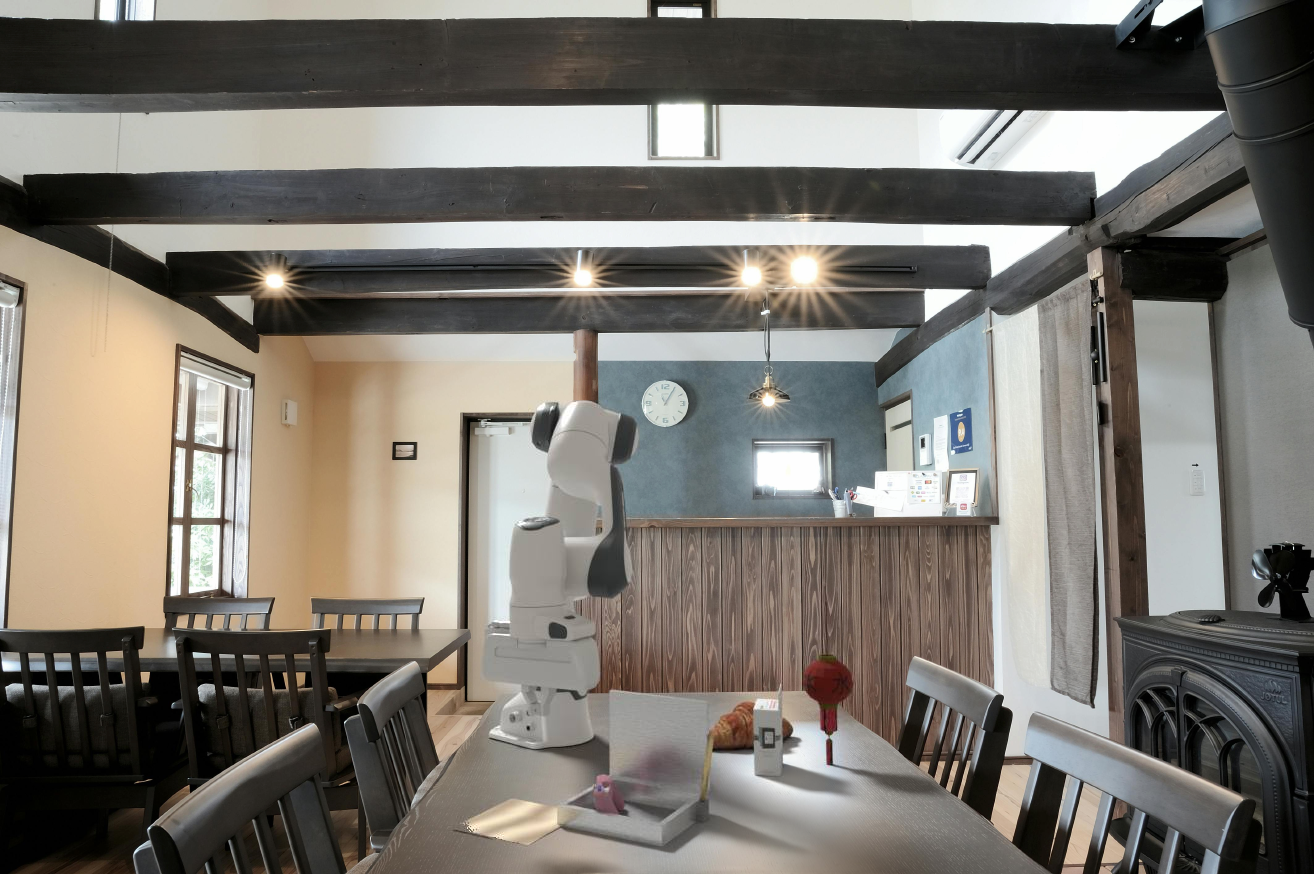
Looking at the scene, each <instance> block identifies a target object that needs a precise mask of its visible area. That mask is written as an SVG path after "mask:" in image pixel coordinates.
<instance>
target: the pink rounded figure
mask: <svg viewBox="0 0 1314 874" xmlns="http://www.w3.org/2000/svg"><path fill="white" fill-rule="evenodd" d="M595 784H596V785H595ZM595 784H593V785H592V786H593V791H594V804H595V808H594V809H595V810H597V811H602V812H607V813H612V814H617V815H621V813H620V812H619V811H623V810H625V801H624V799H623V797H622V796H621V794H620V793H619V791H618V790H617V788H616V786H615V783H614V781H613V779H612V778H611V775H610V774H609V775H607V774H605V773H604V774H599V775H597V776H596V781H595Z"/></svg>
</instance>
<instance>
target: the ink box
mask: <svg viewBox="0 0 1314 874" xmlns="http://www.w3.org/2000/svg"><path fill="white" fill-rule="evenodd" d="M782 686H783V685H782V683H780V685H779V688H778V691H777V692H778V693H777V699H773V698H772V699H771V698H757V699H756V700H755V702H754V703H755V706H754V709H753V717H754V749H753V766H754V769H753V770H754V775H755V776H768V777H781V776H782V772H783V763H784V754H783V753H784V751H783V750H784V745H783V744H784V743H783V740H784V739H783V736H782V718H783V687H782Z"/></svg>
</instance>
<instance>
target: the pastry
mask: <svg viewBox="0 0 1314 874" xmlns="http://www.w3.org/2000/svg"><path fill="white" fill-rule="evenodd" d="M755 703H756V702H752V701H742V702H740V703H739V704H736V706H735V707H734V708H733V711H732V712H730V713H725V714H723V715H721V716H720V718H719V720H718V722H716V723H715V725H714V727H713V728H711V729H709V734H713V735H714V743H713V750H719V751H720V750H721V751H726V750H740V749H743V750H748V749H749V750H752V749H753V750H754V717H753V709H754V706H755ZM793 733H794V727H793V725H792V724H791V722H790V721H789V720H787V718H785V717H782V736H783V740H784V739H787V738H790V737H791V736H793Z"/></svg>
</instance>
